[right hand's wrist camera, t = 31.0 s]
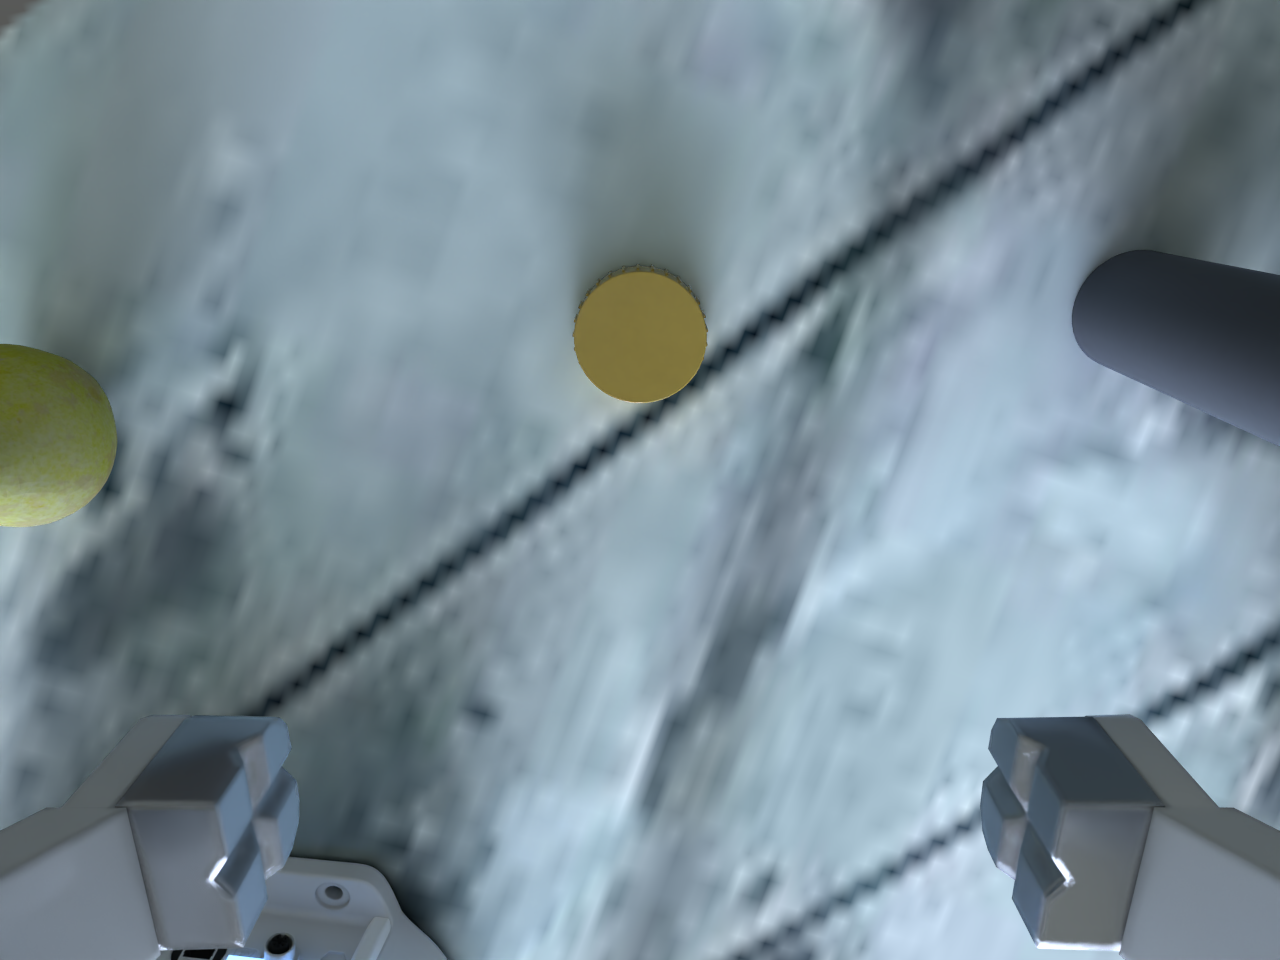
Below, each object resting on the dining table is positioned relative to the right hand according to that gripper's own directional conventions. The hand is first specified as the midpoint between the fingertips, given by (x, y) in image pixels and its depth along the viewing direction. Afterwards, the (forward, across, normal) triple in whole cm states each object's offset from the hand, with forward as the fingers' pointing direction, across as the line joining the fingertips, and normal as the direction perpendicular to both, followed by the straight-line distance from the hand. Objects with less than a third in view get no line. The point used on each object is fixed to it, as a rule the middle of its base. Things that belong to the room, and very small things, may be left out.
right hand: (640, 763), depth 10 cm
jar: (+27, +19, +1) cm, 33 cm away
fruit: (+27, -24, -3) cm, 36 cm away
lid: (+26, 0, 0) cm, 26 cm away
